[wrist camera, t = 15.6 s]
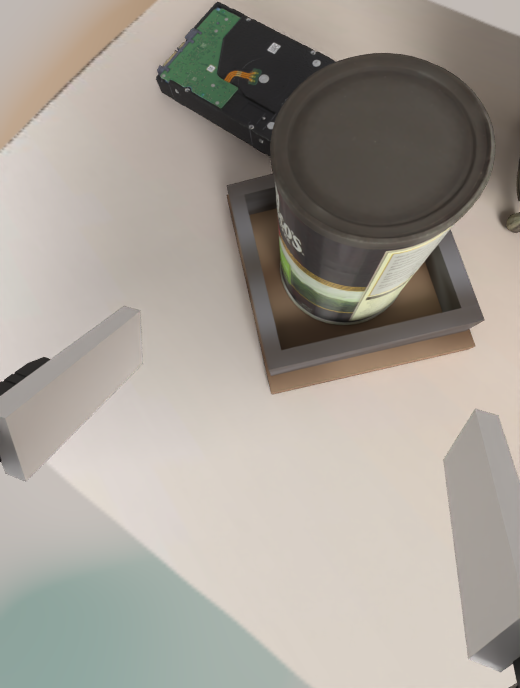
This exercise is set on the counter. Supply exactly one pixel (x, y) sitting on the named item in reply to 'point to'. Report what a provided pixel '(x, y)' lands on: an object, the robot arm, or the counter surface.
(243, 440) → the counter surface
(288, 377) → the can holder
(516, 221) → the tabletop clock
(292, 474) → the counter surface
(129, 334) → the robot arm
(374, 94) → the coffee can
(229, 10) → the disk drive
